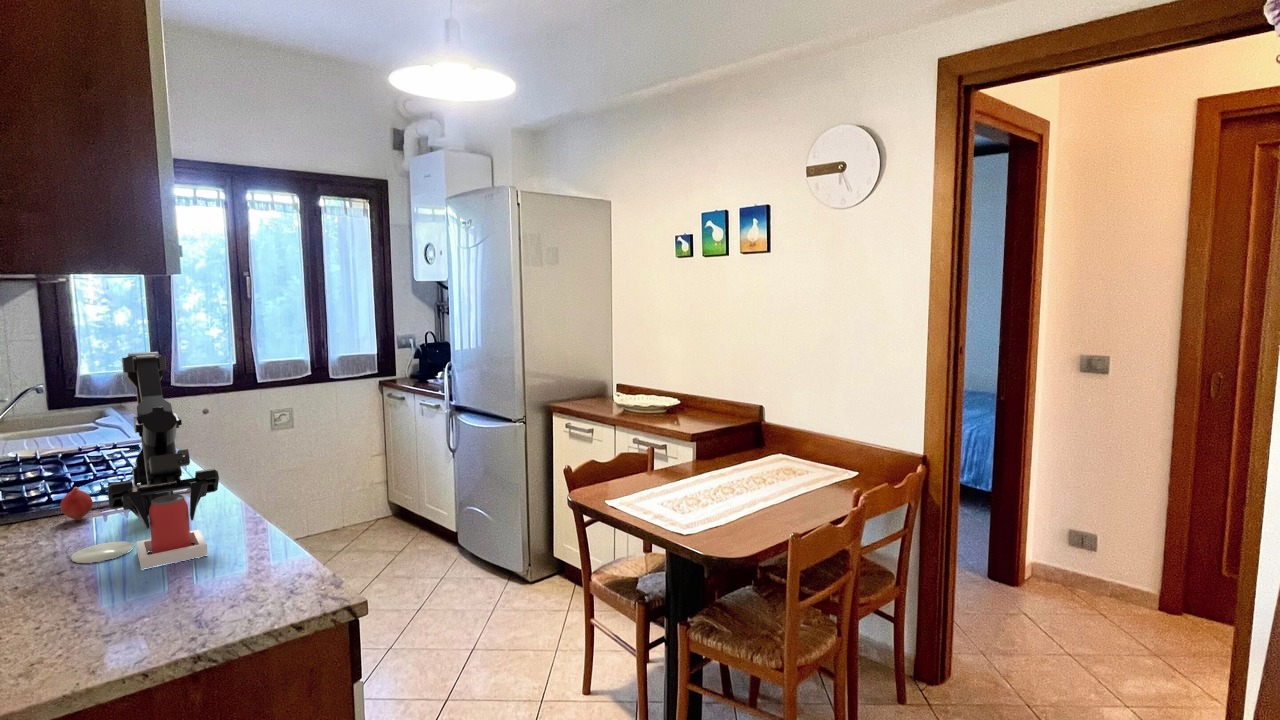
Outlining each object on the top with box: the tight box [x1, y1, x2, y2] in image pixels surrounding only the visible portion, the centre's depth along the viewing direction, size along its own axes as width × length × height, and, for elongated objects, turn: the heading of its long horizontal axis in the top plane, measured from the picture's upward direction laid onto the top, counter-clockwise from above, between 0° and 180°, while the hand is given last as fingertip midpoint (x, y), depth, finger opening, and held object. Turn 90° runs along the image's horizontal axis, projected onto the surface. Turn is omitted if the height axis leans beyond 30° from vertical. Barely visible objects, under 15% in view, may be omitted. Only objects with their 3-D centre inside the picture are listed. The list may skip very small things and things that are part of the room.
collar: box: [135, 529, 209, 570], centre depth 138 cm, size 11×11×2 cm
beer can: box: [148, 493, 192, 554], centre depth 138 cm, size 7×7×12 cm
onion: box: [59, 486, 94, 521], centre depth 158 cm, size 6×6×8 cm
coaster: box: [71, 540, 134, 564], centre depth 139 cm, size 10×10×1 cm
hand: (170, 523), depth 137 cm, fingers open, 7 cm apart
